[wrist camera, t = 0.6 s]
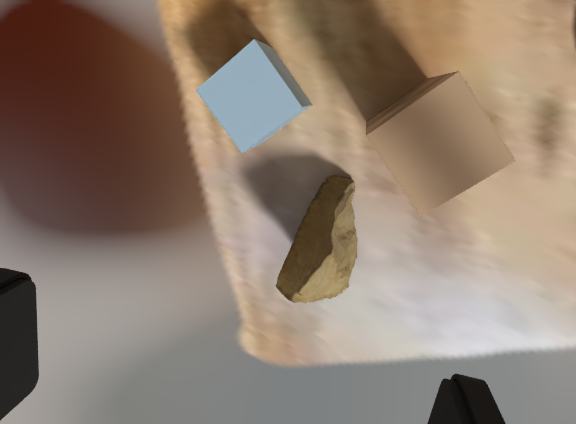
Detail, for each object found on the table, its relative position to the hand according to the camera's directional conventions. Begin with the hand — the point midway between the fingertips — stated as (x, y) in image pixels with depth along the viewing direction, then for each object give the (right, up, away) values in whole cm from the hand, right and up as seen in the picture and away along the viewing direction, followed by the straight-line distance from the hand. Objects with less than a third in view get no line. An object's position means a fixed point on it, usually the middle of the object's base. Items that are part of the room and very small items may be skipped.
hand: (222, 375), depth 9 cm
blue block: (0, +14, +27) cm, 31 cm away
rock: (+6, +2, +30) cm, 30 cm away
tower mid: (+11, +9, +20) cm, 25 cm away
